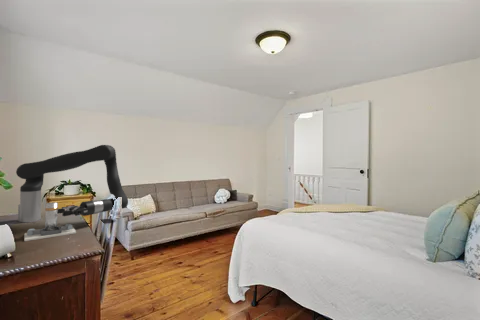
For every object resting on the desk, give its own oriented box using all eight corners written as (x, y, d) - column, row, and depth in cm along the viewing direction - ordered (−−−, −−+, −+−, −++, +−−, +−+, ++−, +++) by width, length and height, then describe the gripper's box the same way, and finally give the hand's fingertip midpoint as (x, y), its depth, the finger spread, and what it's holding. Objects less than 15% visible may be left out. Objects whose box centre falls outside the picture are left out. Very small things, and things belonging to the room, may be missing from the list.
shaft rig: (24, 241, 107) (24, 234, 107) (24, 235, 115) (24, 228, 115) (76, 233, 120) (76, 227, 120) (72, 228, 128) (73, 222, 128)
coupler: (42, 233, 116) (43, 204, 115) (50, 230, 120) (51, 202, 120) (51, 234, 115) (52, 204, 115) (59, 231, 120) (60, 202, 120)
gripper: (84, 199, 138) (51, 203, 124) (99, 202, 131) (65, 207, 117) (84, 212, 138) (50, 218, 124) (99, 216, 131) (65, 222, 117)
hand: (58, 213), depth 120 cm, fingers open, 8 cm apart
